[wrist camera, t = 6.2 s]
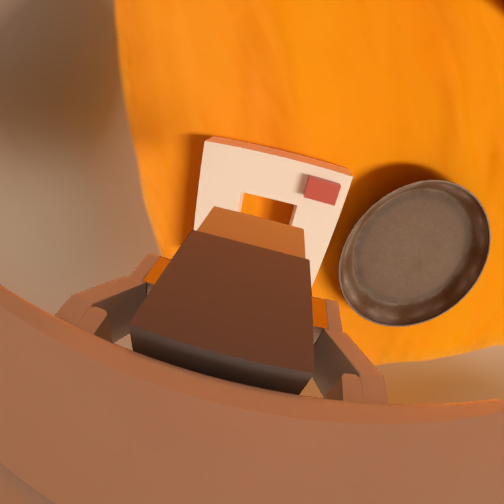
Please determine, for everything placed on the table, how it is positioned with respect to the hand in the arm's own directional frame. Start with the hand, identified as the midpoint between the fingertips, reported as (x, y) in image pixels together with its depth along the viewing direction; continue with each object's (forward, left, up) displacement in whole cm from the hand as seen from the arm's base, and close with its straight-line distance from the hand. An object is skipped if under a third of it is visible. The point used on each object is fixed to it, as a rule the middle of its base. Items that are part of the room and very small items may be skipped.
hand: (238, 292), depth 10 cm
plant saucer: (+6, +19, -21) cm, 29 cm away
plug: (0, 0, -3) cm, 3 cm away
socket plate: (+6, 0, -20) cm, 21 cm away
